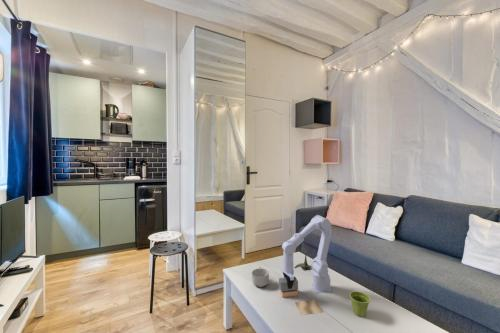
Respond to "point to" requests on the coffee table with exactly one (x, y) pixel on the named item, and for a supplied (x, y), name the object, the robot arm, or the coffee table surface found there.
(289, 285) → the robot arm
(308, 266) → the eiffel tower figurine
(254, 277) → the teacup
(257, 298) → the coffee table surface
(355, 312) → the plant pot
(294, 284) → the gray rectangular block
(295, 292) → the peach slab
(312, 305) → the wooden board
